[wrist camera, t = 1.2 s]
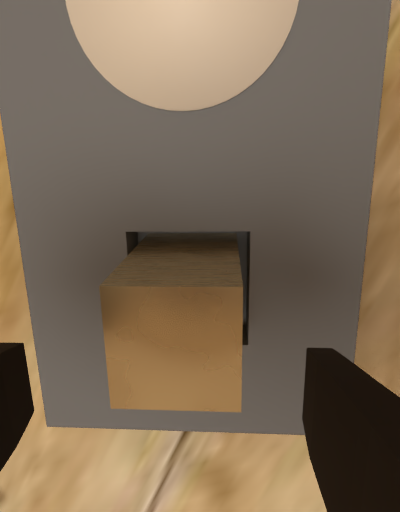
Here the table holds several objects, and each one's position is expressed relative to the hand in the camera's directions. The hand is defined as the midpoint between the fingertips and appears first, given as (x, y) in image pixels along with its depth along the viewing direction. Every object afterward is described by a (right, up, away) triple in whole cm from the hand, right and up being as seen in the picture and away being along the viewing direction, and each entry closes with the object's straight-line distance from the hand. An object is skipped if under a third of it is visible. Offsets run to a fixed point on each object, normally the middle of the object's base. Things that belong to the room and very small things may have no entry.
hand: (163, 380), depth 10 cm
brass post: (+1, +2, +8) cm, 9 cm away
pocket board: (0, +7, +7) cm, 10 cm away
